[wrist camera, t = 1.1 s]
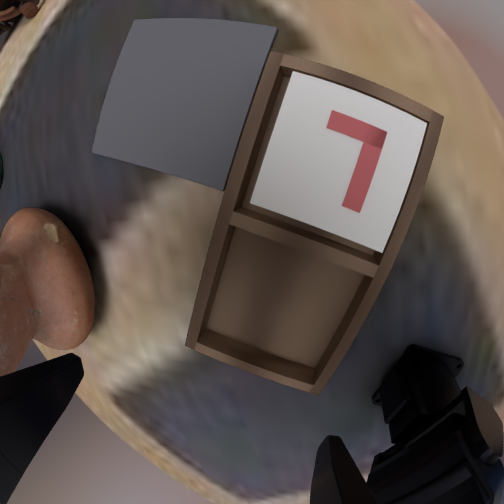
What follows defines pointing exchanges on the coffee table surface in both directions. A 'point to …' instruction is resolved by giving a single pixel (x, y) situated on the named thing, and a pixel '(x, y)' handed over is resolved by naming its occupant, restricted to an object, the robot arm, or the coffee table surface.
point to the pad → (183, 95)
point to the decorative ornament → (1, 170)
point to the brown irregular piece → (15, 11)
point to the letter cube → (339, 161)
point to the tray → (293, 255)
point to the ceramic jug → (42, 287)
